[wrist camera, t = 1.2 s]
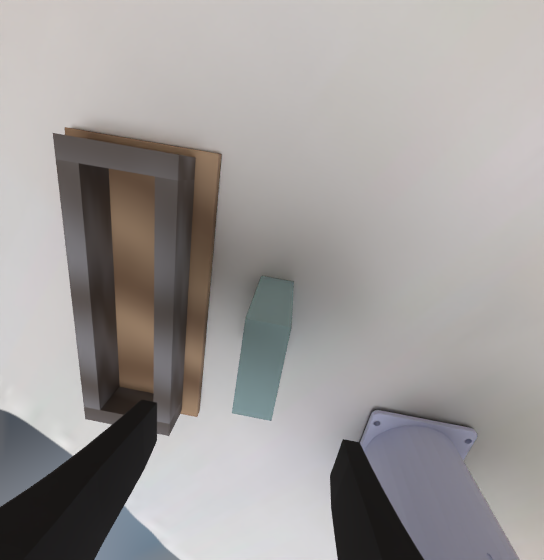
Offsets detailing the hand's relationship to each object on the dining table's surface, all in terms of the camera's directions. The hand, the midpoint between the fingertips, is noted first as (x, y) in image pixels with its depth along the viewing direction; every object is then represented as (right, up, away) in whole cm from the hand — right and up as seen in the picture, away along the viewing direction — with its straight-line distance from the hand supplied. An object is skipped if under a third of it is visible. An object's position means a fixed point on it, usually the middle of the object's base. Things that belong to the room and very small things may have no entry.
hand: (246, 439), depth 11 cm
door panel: (+1, +3, +9) cm, 10 cm away
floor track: (-8, +5, +9) cm, 13 cm away
